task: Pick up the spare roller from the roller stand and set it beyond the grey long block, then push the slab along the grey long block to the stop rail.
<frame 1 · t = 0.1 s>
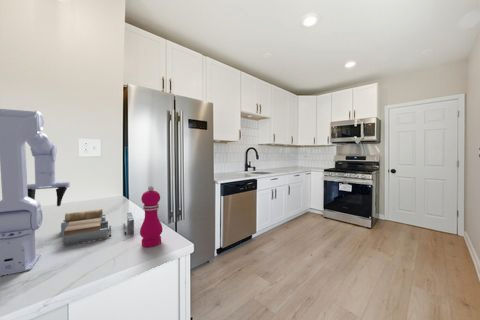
hand: (46, 206, 80), 10 cm above the counter, tool pointing down, fingers open, 7 cm apart
roller stand: (85, 229, 83), on the counter
slab: (84, 228, 75), point 3 cm above the counter, touching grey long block
pepper mill: (151, 243, 71), on the counter
stop rail: (130, 229, 83), on the counter
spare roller: (84, 219, 83), point 4 cm above the counter, touching roller stand
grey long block: (88, 236, 76), on the counter
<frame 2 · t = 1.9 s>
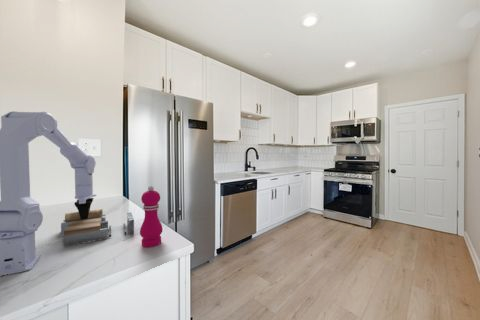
hand: (84, 217, 83), 5 cm above the counter, tool pointing down, fingers closed on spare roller, 3 cm apart
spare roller: (84, 219, 83), point 4 cm above the counter, touching gripper, roller stand
everything else where it was.
when the fingers open (2 cm above the counter, at t = 5.7 s): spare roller drops 1 cm, on the counter.
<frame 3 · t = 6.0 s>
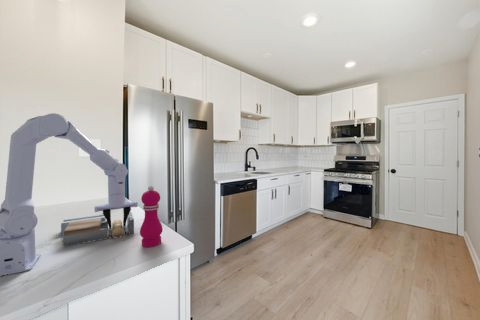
hand: (117, 226, 81), 2 cm above the counter, tool pointing down, fingers open, 4 cm apart
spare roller: (117, 232, 81), on the counter
everything else where it was.
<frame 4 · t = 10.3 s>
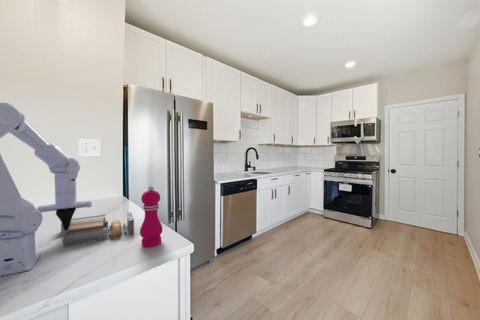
hand: (66, 229, 73), 4 cm above the counter, tool pointing down, fingers closed
slab: (87, 227, 76), point 4 cm above the counter, touching gripper, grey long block
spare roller: (117, 232, 81), on the counter, tilted 14°
everything else where it was.
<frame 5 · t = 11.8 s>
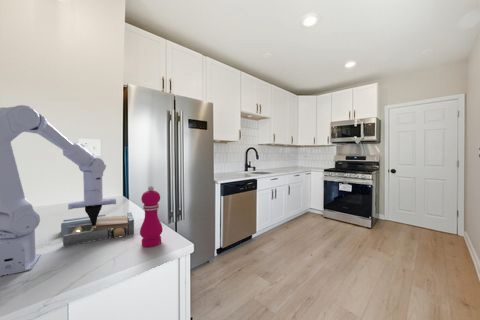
hand: (94, 225, 77), 4 cm above the counter, tool pointing down, fingers closed
slab: (112, 224, 80), point 3 cm above the counter, touching gripper, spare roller
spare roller: (117, 232, 81), on the counter, tilted 15°, touching slab
everything else where it was.
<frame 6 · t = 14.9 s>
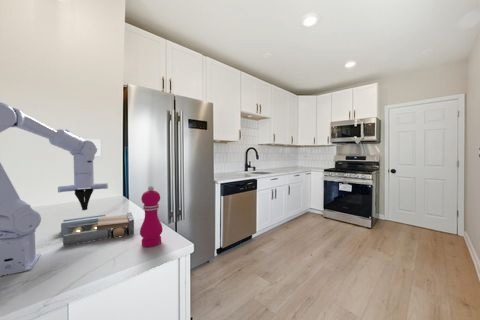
hand: (84, 209, 75), 10 cm above the counter, tool pointing down, fingers closed
slab: (113, 223, 80), point 3 cm above the counter, touching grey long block, stop rail
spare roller: (117, 232, 81), on the counter, tilted 15°
everything else where it was.
at the end: slab 0.1 cm from the target spot, point 3.4 cm above the counter; slab tilted 3°; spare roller inside the target area under the slab (0.4 cm from its centre), point -3.6 cm above the slab's base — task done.
